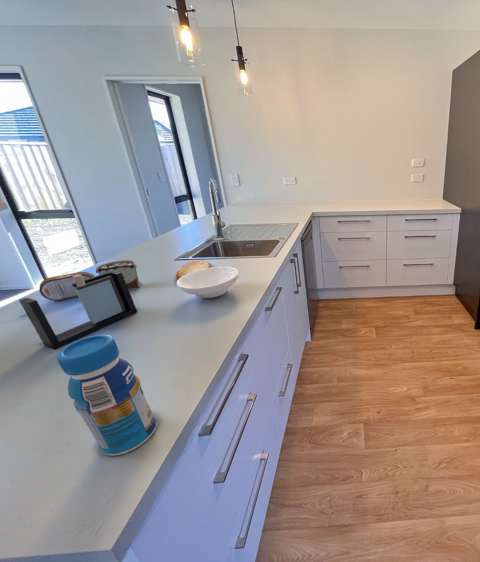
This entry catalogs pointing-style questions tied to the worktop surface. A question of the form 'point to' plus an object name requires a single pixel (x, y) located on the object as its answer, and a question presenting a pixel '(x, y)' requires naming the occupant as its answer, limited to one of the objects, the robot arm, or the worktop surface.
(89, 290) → the sliding pane
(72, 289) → the tin
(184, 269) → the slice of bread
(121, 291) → the window frame
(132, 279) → the food container
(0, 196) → the robot arm
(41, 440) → the worktop surface
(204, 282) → the bowl
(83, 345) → the beverage bottle
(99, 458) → the worktop surface
